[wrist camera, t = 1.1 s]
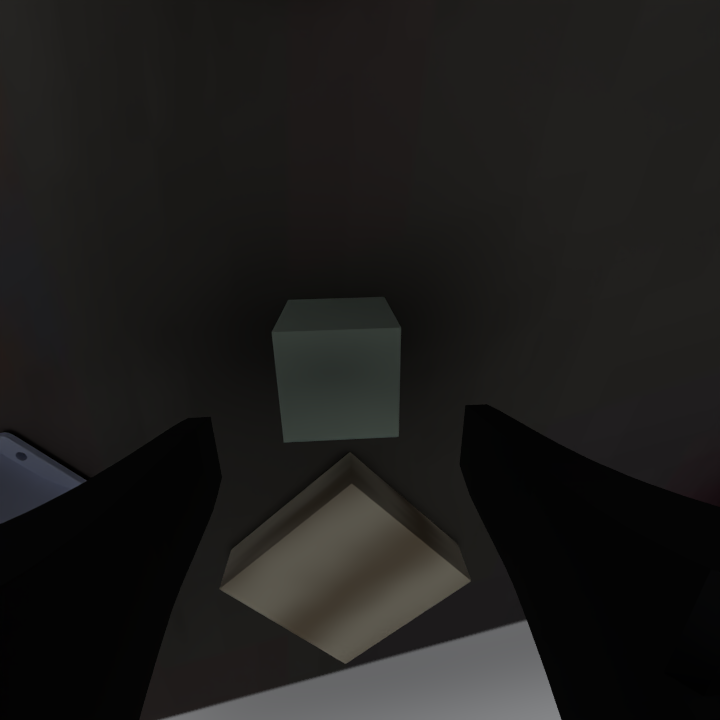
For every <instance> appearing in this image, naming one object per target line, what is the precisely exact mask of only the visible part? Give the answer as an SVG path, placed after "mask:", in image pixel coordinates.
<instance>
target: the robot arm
mask: <svg viewBox="0 0 720 720" xmlns="http://www.w3.org/2000/svg"><path fill="white" fill-rule="evenodd" d="M23 453H24V454H26V455H24V454H23ZM460 467H461V470H462V473H463V476H464V479H465V482H466V485H467V488H468V491H469V494H470V496H471V498H472V501H473V503H474V505H475V507H476V509H477V511H478V513H479V515H480V517H481V519H482V521H483V523H484V525H485V527H486V529H487V531H488V533H489V535H490V537H491V539H492V541H493V543H494V545H495V547H496V549H497V551H498V553H499V555H500V557H501V559H502V561H503V563H504V565H505V567H506V569H507V572H508V574H509V576H510V578H511V581H512V583H513V585H514V588H515V590H516V593H517V595H518V598H519V601H520V603H521V606H522V608H523V611H524V614H525V616H526V619H527V622H528V624H529V627H530V630H531V632H532V635H533V638H534V641H535V644H536V646H537V649H538V652H539V655H540V658H541V660H542V663H543V666H544V669H545V672H546V674H547V677H548V680H549V684H550V686H551V690H552V693H553V696H554V699H555V701H556V704H557V708H558V710H559V713H560V716H561V719H562V720H720V507H718V506H714V505H711V504H708V503H704V502H701V501H698V500H695V499H692V498H688V497H685V496H682V495H680V494H677V493H674V492H671V491H668V490H665V489H662V488H659V487H657V486H654V485H651V484H648V483H645V482H643V481H640V480H638V479H635V478H632V477H630V476H627V475H625V474H623V473H620V472H618V471H616V470H613V469H611V468H608V467H606V466H604V465H601V464H599V463H597V462H595V461H592V460H590V459H588V458H586V457H584V456H582V455H580V454H578V453H576V452H574V451H572V450H570V449H568V448H566V447H564V446H562V445H560V444H558V443H556V442H554V441H552V440H551V439H549V438H547V437H545V436H543V435H541V434H540V433H538V432H536V431H534V430H533V429H531V428H529V427H527V426H526V425H524V424H522V423H520V422H519V421H517V420H515V419H513V418H512V417H510V416H508V415H506V414H504V413H503V412H501V411H499V410H497V409H495V408H493V407H491V406H489V405H487V404H485V405H466V406H465V416H464V426H463V436H462V446H461V456H460ZM221 479H222V475H221V470H220V465H219V459H218V454H217V449H216V444H215V438H214V433H213V428H212V423H211V417H202V418H187V419H186V420H184V421H182V422H180V423H178V424H177V425H175V426H173V427H172V428H170V429H169V430H167V431H165V432H164V433H162V434H161V435H159V436H158V437H156V438H155V439H153V440H152V441H150V442H149V443H147V444H146V445H144V446H142V447H141V448H139V449H138V450H136V451H135V452H133V453H132V454H130V455H129V456H127V457H125V458H124V459H122V460H120V461H119V462H117V463H116V464H114V465H112V466H111V467H109V468H107V469H106V470H104V471H102V472H101V473H99V474H97V475H96V476H94V477H92V478H91V479H89V480H85V479H84V478H82V477H80V476H79V475H77V474H76V473H74V472H72V471H71V470H69V469H68V468H66V467H64V466H63V465H61V464H59V463H58V462H56V461H55V460H53V459H51V458H50V457H48V456H47V455H45V454H43V453H42V452H40V451H39V450H37V449H35V448H34V447H32V446H30V445H29V444H27V443H26V442H24V441H22V440H21V439H19V438H18V437H16V436H14V435H13V434H10V433H6V432H3V433H0V720H139V718H140V715H141V711H142V707H143V704H144V700H145V697H146V693H147V690H148V687H149V683H150V680H151V676H152V673H153V669H154V666H155V663H156V659H157V656H158V652H159V649H160V646H161V643H162V640H163V637H164V633H165V630H166V627H167V624H168V621H169V618H170V614H171V611H172V608H173V606H174V603H175V600H176V598H177V595H178V593H179V590H180V587H181V585H182V583H183V580H184V578H185V576H186V573H187V571H188V569H189V566H190V564H191V562H192V559H193V557H194V555H195V552H196V550H197V548H198V545H199V543H200V541H201V538H202V536H203V533H204V531H205V529H206V526H207V524H208V521H209V519H210V517H211V514H212V512H213V509H214V505H215V502H216V498H217V495H218V491H219V487H220V483H221Z"/></svg>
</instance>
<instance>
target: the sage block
mask: <svg viewBox="0 0 720 720" xmlns="http://www.w3.org/2000/svg"><path fill="white" fill-rule="evenodd" d="M272 340H273V349H274V358H275V367H276V376H277V385H278V394H279V403H280V412H281V421H282V430H283V439H284V442H303V441H323V440H343V439H363V438H383V437H399V398H400V354H401V326H400V325H399V323H398V321H397V319H396V317H395V315H394V314H393V312H392V310H391V308H390V306H389V305H388V303H387V301H386V299H385V297H362V298H331V299H300V300H288V301H287V303H286V305H285V307H284V309H283V311H282V313H281V315H280V317H279V319H278V321H277V323H276V325H275V327H274V328H273V330H272Z"/></svg>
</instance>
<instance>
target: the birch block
mask: <svg viewBox="0 0 720 720" xmlns="http://www.w3.org/2000/svg"><path fill="white" fill-rule="evenodd" d="M470 581H471V579H470V576H469V574H468V571H467V568H466V565H465V563H464V560H463V557H462V554H461V552H460V549H459V546H458V544H457V543H456V542H455V541H454V540H452V539H451V538H450V537H449V536H448V535H446V534H445V533H444V532H443V531H442V530H441V529H439V528H438V527H437V526H436V525H435V524H434V523H432V522H431V521H430V520H429V519H428V518H427V517H425V516H424V515H423V514H422V513H421V512H420V511H418V510H417V509H416V508H415V507H414V506H413V505H411V504H410V503H409V502H408V501H407V500H406V499H404V498H403V497H402V496H401V495H400V494H398V493H397V492H396V491H395V490H394V489H393V488H391V487H390V486H389V485H388V484H387V483H386V482H384V481H383V480H382V479H381V478H380V477H379V476H377V475H376V474H375V473H374V472H373V471H372V470H370V469H369V468H368V467H367V466H366V465H365V464H363V463H362V462H361V461H360V460H359V459H357V458H356V457H355V456H354V455H353V454H352V453H350V452H349V453H348V454H347V455H346V456H344V457H343V458H342V459H341V460H340V461H338V462H337V463H336V464H335V465H333V466H332V467H331V468H330V469H329V470H327V471H326V472H325V473H324V474H323V475H321V476H320V477H319V478H318V479H316V480H315V481H314V482H313V483H312V484H310V485H309V486H308V487H307V488H306V489H304V490H303V491H302V492H301V493H299V494H298V495H297V496H296V497H295V498H293V499H292V500H291V501H290V502H289V503H287V504H286V505H285V506H284V507H282V508H281V509H280V510H279V511H278V512H276V513H275V514H274V515H273V516H272V517H270V518H269V519H268V520H267V521H265V522H264V523H263V524H262V525H261V526H259V527H258V528H257V529H256V530H255V531H253V532H252V533H251V534H250V535H248V536H247V537H246V538H245V539H244V540H242V541H241V542H240V543H239V544H238V545H236V546H235V547H234V548H233V549H231V552H230V555H229V559H228V562H227V565H226V569H225V572H224V575H223V579H222V582H221V585H220V590H222V591H224V592H225V593H227V594H229V595H230V596H232V597H234V598H235V599H237V600H239V601H240V602H242V603H244V604H245V605H247V606H249V607H251V608H252V609H254V610H256V611H257V612H259V613H261V614H262V615H264V616H266V617H267V618H269V619H271V620H272V621H274V622H276V623H278V624H279V625H281V626H283V627H284V628H286V629H288V630H289V631H291V632H293V633H294V634H296V635H298V636H299V637H301V638H303V639H305V640H306V641H308V642H310V643H311V644H313V645H315V646H316V647H318V648H320V649H321V650H323V651H325V652H326V653H328V654H330V655H331V656H333V657H335V658H337V659H338V660H340V661H342V662H343V663H345V664H346V663H348V662H349V661H351V660H352V659H354V658H355V657H357V656H358V655H360V654H361V653H363V652H364V651H366V650H367V649H369V648H370V647H372V646H373V645H375V644H376V643H378V642H379V641H381V640H382V639H384V638H385V637H387V636H388V635H390V634H391V633H393V632H394V631H396V630H398V629H399V628H401V627H402V626H404V625H405V624H407V623H408V622H410V621H411V620H413V619H414V618H416V617H417V616H419V615H420V614H422V613H423V612H425V611H426V610H428V609H429V608H431V607H432V606H434V605H435V604H437V603H438V602H440V601H441V600H443V599H445V598H446V597H448V596H449V595H451V594H452V593H454V592H455V591H457V590H458V589H460V588H461V587H463V586H464V585H466V584H467V583H469V582H470Z"/></svg>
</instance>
